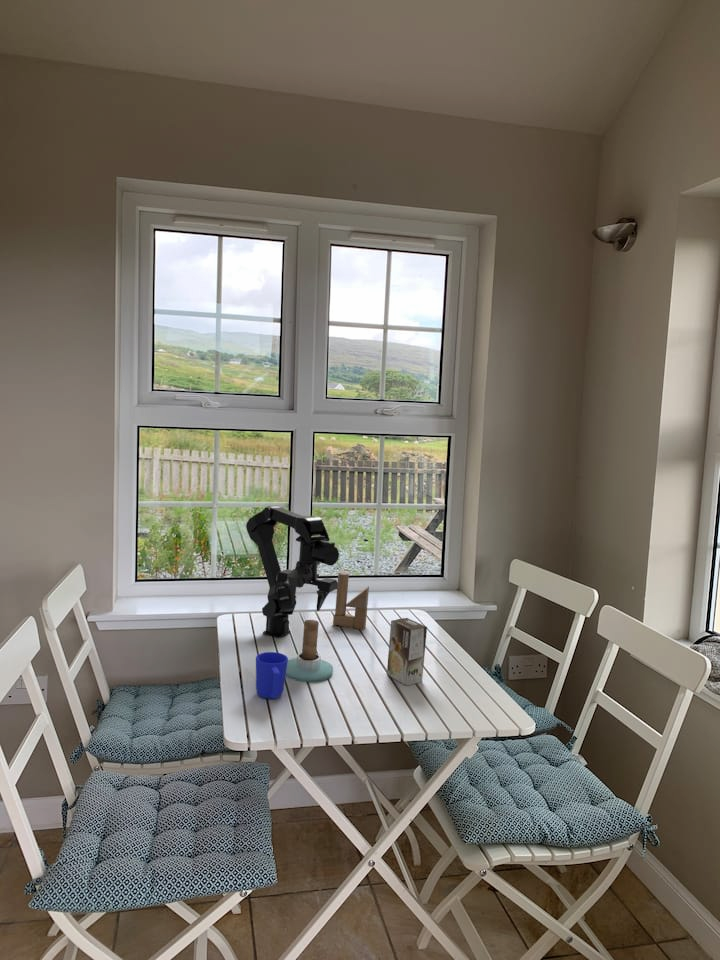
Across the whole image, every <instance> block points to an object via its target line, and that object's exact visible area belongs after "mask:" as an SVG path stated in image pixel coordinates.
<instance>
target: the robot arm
mask: <svg viewBox="0 0 720 960" xmlns="http://www.w3.org/2000/svg"><path fill="white" fill-rule="evenodd" d="M278 523H279V524H281V525H282V524H283V525H285V526H287V527H290V528H292V529H294V533H296V534H297V535H299V536H297V538H295V541H296V542H298V543H300V544H299V557H298V558H299V559H298V560H297V561H296V563H295V567H294V568H293V569H292V570H291V569H287V568H286V569H284V570H282V569H281V566H280V563H279V559H278V556H277V552H276V549H275V545H274V542H273V539H274V535H275V527H276V526H277V524H278ZM245 528H246V531H247V534H248V537H249V538H250V539H251V541H253V542H254V544H255V545H256V546H257V550H258V553H259V555H260V559H261V563H262V567H263V569H264V572H265V575H266V580H267V583H268V586H269V589H268V593H267V603H266V604H265V605H264V606H263V607H262V608H261V611H262V615H263V616H264V617H266V623H265V630H264V631H262V634H264V635H266V636H271V637H275V638H277V639H278V638H279V639H281V638H282V637H284V636H286V635H288V634H290V633H291V631H290V620H289V616H290V615H293V613H294V611H295V608H296V605H297V599H296V598H297V595H296V593H297V588H300V589H301V588H303V587H304V585H312V586H316V587H317V589H318V590H316V595H317V598H316V599H317V602H316V612H319V611H321V608H322V607H323V604H324V602H325V600H326V599H327V597H328V595H329V594H330V593H331V592H334V591H335V590H336V591H337V589H338V580H337V579H334V578H331V577H325V578H323V579H318V578H319V576H320V574H319V573H318V567H319V565H320V564H324V565H326V566H334V565H336V564H337V562H338V561H339V558H340V553H339V550H338V548H337V547H336V545H335V544H336V543H335V542H333V541H330V540H331V539H330V537H329V534H328V532H327V529H326V527H325V523H324V521H323V519H322V518H321V517H320V516H312V515H311V516H310V515H301V514H298V513H295V512H293V511H291V510H288V509H286V508H282V507H281V506H279V505H269V506H266V507H265V508H263V509H262V511H261V510H260V511H259V512H258V513H256V514H254V515H253V516H252V517H250V518H249V519H248V520H247V522H246V525H245Z"/></svg>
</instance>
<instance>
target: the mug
mask: <svg viewBox="0 0 720 960" xmlns="http://www.w3.org/2000/svg"><path fill="white" fill-rule="evenodd" d="M288 660H289V658H288V656H287V655H285V654H283V653H281V652H274V651H268V652H267V651H266V652H261V653H259V654H257V655H256V656H255V690H256V694H257V695H258V696H259V697H261V698H262V699H270V700H273V699H277V698H279V697H281V696H282V694H283V692H284V688H285V682H286V677H287V676H286V669H287V663H288Z"/></svg>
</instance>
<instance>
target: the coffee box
mask: <svg viewBox="0 0 720 960" xmlns="http://www.w3.org/2000/svg"><path fill="white" fill-rule="evenodd" d="M389 631H390V632H389V640H388V641H389V643H388V644H389V645H388V655H387V665H386V666H387V668H386V675H387V676H389V677H390V678H393V679H394V680H395V681H398V682H400V683H402V684H403V685H405V686H410V685H414V684H419V683H422V682H423V677H424V675H423V674H424V667H425V666H424V664H425V655H426V643H427V631H428V626H426V625H423V624H422V623H419V622H417V621H415V620H413V619H411V618H409V617H403V618H398V619H393V620H391V621H390V630H389Z"/></svg>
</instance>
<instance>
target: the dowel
mask: <svg viewBox="0 0 720 960" xmlns="http://www.w3.org/2000/svg"><path fill="white" fill-rule="evenodd" d="M319 623H320V622H319V621H318V620H316V619H306V620H304V622H303V636H302V649H301V653H302V659H304V660H316V653H317V649H318V648H317V647H318V638H319V637H318V635H319Z"/></svg>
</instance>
